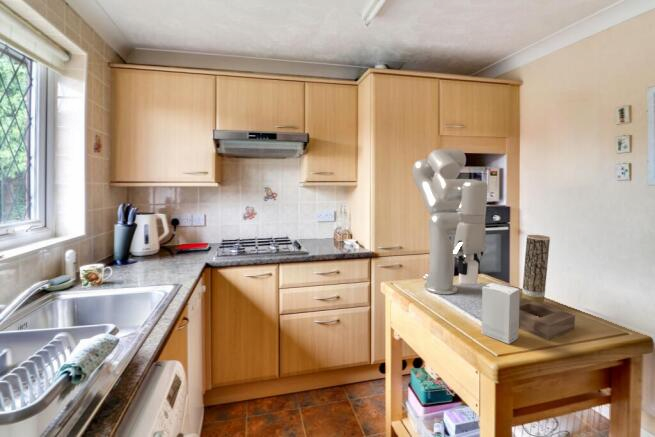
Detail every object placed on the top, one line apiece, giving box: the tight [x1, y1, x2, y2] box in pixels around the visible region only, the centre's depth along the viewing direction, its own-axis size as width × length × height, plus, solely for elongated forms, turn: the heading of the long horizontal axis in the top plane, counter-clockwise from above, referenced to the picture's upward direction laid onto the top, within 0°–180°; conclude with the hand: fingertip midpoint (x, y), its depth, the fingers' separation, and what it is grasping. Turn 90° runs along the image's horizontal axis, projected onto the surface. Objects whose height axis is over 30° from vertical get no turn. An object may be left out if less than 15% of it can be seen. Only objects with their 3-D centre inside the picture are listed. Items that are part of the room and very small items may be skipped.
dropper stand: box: [519, 297, 576, 341], centre depth 102 cm, size 16×14×4 cm
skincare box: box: [481, 282, 521, 345], centre depth 93 cm, size 8×6×15 cm
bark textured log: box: [521, 234, 551, 305], centre depth 115 cm, size 7×7×25 cm
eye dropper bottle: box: [458, 254, 479, 286], centre depth 108 cm, size 4×6×12 cm
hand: (468, 271), depth 109 cm, fingers closed on eye dropper bottle, 5 cm apart
